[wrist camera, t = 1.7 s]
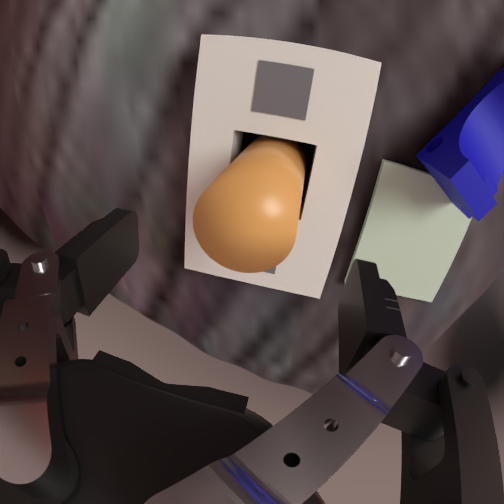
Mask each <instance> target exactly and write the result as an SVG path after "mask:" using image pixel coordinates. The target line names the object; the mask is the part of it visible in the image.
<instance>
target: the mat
mask: <svg viewBox="0 0 504 504" xmlns="http://www.w3.org/2000/svg"><path fill="white" fill-rule="evenodd" d="M471 218H472V217H471ZM471 218H470V219H469V218H467V217H466V216H465V215H464V214H463V213H462V212H461V211H460V210H459V209H458V208H457V207H456V206H455V205H454V204H453V203H452V202H451V201H450V199H449V198H448V196H447V195H446V194H445V192H444V191H443V190H442V188H441V187H440V186H439V184H438V183H437V182H436V180H435V179H434V178H433V177H432V175H431V174H430V173H427V172H424V171H421V170H418V169H415V168H412V167H409V166H405V165H402V164H399V163H395V162H392V161H389V160H385V159H382V163H381V166H380V170H379V174H378V177H377V181H376V184H375V188H374V191H373V195H372V198H371V201H370V205H369V208H368V211H367V214H366V218H365V221H364V224H363V227H362V230H361V233H360V236H359V239H358V242H357V245H356V248H355V251H354V254H353V257H352V260H351V263H350V266H349V268H348V271H347V274H346V277H345V280H344V281H345V283H346V280H347V277H348V275H349V272H350V269H351V266H352V263H353V261H354V260H355V259H361V260H365V261H369V262H374V263H376V264H377V268H378V272H379V276H380V278H381V279H385V280H387V281H388V282H389V283H390V285H391V286H392V287H393V288H394V290H395V293H396V295H398V296H403V297H408V298H413V299H418V300H423V301H428V302H432V301H433V299H434V297H435V295H436V293H437V291H438V290H439V288H440V286H441V284H442V282H443V280H444V278H445V276H446V274H447V272H448V270H449V268H450V266H451V264H452V262H453V259H454V257H455V255H456V253H457V251H458V249H459V246H460V244H461V242H462V240H463V237H464V235H465V233H466V230H467V228H468V226H469V223H470V221H471Z"/></svg>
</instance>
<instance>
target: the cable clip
mask: <svg viewBox="0 0 504 504" xmlns="http://www.w3.org/2000/svg"><path fill="white" fill-rule="evenodd" d="M416 157H417V158H418V159H419V160H420V162H421V163H422V164H423V165H424V167H425V168H426V169H427V170H428V172H429V173H430V174H431V175H432V177H433V178H434V179H435V180H436V182H437V183H438V184H439V186H440V187H441V188H442V190H443V191H444V192H445V194H446V195H447V196H448V198H449V199H450V201H451V202H452V203H453V204H454V205H455V206H456V207H457V208H458V209H459V210H460V211H461V212H462V213H463V214H464V215H465V216H466V217H467V218H469V219H470V218H471V217H472V216H473V217H474V218H475V219H476V220H478V221H479V220H480V219H481V218H482V217H484V216H485V215H486V214H487V213H488V212H489V211H490V210H491V209H492V208H493V207H494V206H495V205H496V204H497V203H496V201H495V200H494V198H493V196H494V195H495V194H496V192H497V186H498V183H499V180H500V177H501V175H502V173H503V171H504V66H503V67H502V68H501V69H500V70H499V71H498V72H497V73H496V74H495V75H494V76H493V77H492V79H491V80H490V81H489V82H488V83H487V84H486V85H485V86H484V87H483V88H482V89H481V90H480V91H479V92H478V93H477V94H476V95H475V96H474V97H473V98H472V99H471V101H470V102H469V103H468V104H467V105H466V106H465V107H464V108H463V109H462V110H461V111H460V112H459V113H458V114H457V115H456V116H455V117H454V118H453V119H452V120H451V121H450V122H449V123H448V124H447V125H446V126H445V127H444V128H443V129H442V130H441V131H440V132H439V133H438V134H437V135H436V136H435V137H434V138H433V139H432V140H431V141H430V142H429V143H428V144H427V145H426V146H425V147H424V148H423V149H422V150H421V151H420V152H419V153H418V154H417V155H416Z"/></svg>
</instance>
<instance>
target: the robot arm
mask: <svg viewBox="0 0 504 504" xmlns="http://www.w3.org/2000/svg"><path fill="white" fill-rule="evenodd" d="M138 252H139V240H138V220H137V214H136V212H134V211H130V210H125V209H120V208H116V209H114V210H113V211H112V212H110V213H109V214H108V215H106V216H105V217H104V218H102V219H100V220H97V221H95V222H92V223H91V224H89V225H88V226H87V227H86V228H84V229H83V231H81V232H79V233H78V234H77V235H76V236H74V237H73V238H72V239H71V240H69V241H68V242H67V243H66V244H64V245H63V246H62V247H61V248H60V249H58V250H57V251H56V252H55V253H54V252H50V251H43V252H38V253H35V254H32V255H30V256H29V257H28V258H26V259H25V260H24V261H23V263H22V264H19V263H10V261H9V257H8V254H7V252H6V251H5V250H3V249H0V504H325V502H324V501H323V499H322V498H321V496H320V495H319V493H318V492H317V490H318V489H319V488H320V487H321V486H322V485H323V484H324V483H325V482H326V481H327V480H328V479H329V478H330V477H331V476H332V475H333V474H334V473H335V472H336V471H337V470H338V469H339V468H340V467H341V466H342V465H343V464H344V463H345V462H346V461H347V460H348V459H349V458H350V457H351V456H352V455H353V454H354V452H355V451H356V450H357V449H358V448H359V447H360V446H361V445H362V444H363V443H364V442H365V440H366V439H367V438H368V437H369V436H370V435H371V433H372V432H373V431H374V430H375V428H376V427H377V426H378V425H379V424H380V423H383V424H386V425H388V426H391V427H393V428H396V429H399V430H401V431H402V473H401V498H400V504H504V491H503V481H502V472H501V463H500V456H499V450H498V445H497V438H496V433H495V428H494V423H493V418H492V413H491V409H490V405H489V400H488V396H487V392H486V388H485V385H484V381H483V379H482V377H481V375H480V374H479V372H478V371H477V370H476V369H475V368H473V367H472V366H470V365H469V364H466V363H463V362H456V363H453V364H452V365H450V367H449V368H448V369H447V370H446V372H445V371H443V370H440V369H438V368H436V367H433V366H431V365H428V364H426V363H424V362H423V355H422V353H421V351H420V349H419V348H418V346H417V345H416V344H415V343H413V342H412V341H411V340H409V339H407V337H406V333H405V328H404V324H403V320H402V316H401V312H400V311H399V309H400V308H399V304H398V302H397V297H396V293H395V290H394V288H393V287H392V286H391V285H390V283H389V282H388V281H387V280H385V279H381V278H380V276H379V272H378V268H377V264H376V263H374V262H369V261H365V260H361V259H355V260H354V261H353V263H352V266H351V269H350V272H349V275H348V277H347V280H346V283H345V286H344V289H343V291H342V294H341V297H340V301H339V308H338V320H339V374H337V375H336V376H335V377H333V378H332V379H331V380H330V381H329V382H328V383H326V384H325V385H324V386H323V387H322V388H321V389H319V390H318V391H317V392H316V393H315V394H313V395H312V396H311V397H310V398H309V399H307V400H306V401H305V402H304V403H302V404H301V405H300V406H299V407H297V408H296V409H295V410H294V411H292V412H291V413H290V414H288V415H287V416H286V417H285V418H283V419H282V420H281V421H279V422H278V423H277V424H275V425H274V426H272V424H271V423H269V422H268V421H267V420H265V419H264V418H263V417H261V416H260V415H258V414H256V413H255V412H253V411H251V410H249V409H247V408H246V406H247V402H248V397H246V396H242V395H238V394H234V393H230V392H226V391H222V390H218V389H214V388H211V387H201V386H188V385H175V384H166V383H163V382H161V381H160V380H158V379H156V378H155V377H153V376H151V375H150V374H148V373H147V372H145V371H143V370H142V369H141V368H139V367H137V366H136V365H134V364H133V363H131V362H129V361H126V360H123V359H120V358H118V357H115V356H113V355H110V354H108V353H105V352H103V351H99V352H98V353H97V354H96V356H95V357H94V359H93V360H90V359H78V349H77V337H76V323H75V318H74V315H75V314H76V312H79V313H82V314H84V315H87V316H90V315H91V314H92V312H93V311H94V310H95V309H96V307H97V306H98V305H99V304H100V303H101V301H102V300H103V299H104V298H105V297H106V295H107V294H108V293H109V292H110V291H111V290H112V288H113V287H114V286H115V285H116V284H117V283H118V281H119V280H120V279H121V278H122V277H123V276H124V274H125V273H126V272H127V271H128V270H129V269H130V268H131V266H132V265H133V264H134V263H135V261H136V259H137V257H138Z"/></svg>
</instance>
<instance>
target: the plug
mask: <svg viewBox="0 0 504 504" xmlns="http://www.w3.org/2000/svg"><path fill="white" fill-rule="evenodd" d="M305 171H306V157H305V154H304V151H303V149H302V148H301V146H300V145H299V144H298V143H297V142H296V141H294V140H289V139H284V138H278V137H273V136H267V135H261V136H259V137H258V138H256V139H255V140H254V141H253V142H252V143H251V144H250V145H249V146H248V147H247V148H246V149H245V150H244V151H243V152H242V153H241V154H240V155H239V156H238V157H237V158H236V159H235V160H234V161H233V162H232V163H231V164H230V165H229V166H228V167H227V168H226V169H225V170H224V171H223V172H222V173H221V174H220V175H219V176H218V177H217V178H216V179H215V180H214V181H213V183H212V184H211V185H210V186H209V187H208V188H207V189H206V190H205V191H204V192H203V193H202V194H201V196H200V197H199V199H198V200H197V203H196V205H195V208H194V211H193V230H194V233H195V237H196V239H197V241H198V243H199V245H200V246H201V248H202V249H203V251H204V252H205V253H206V254H207V255H208V256H209V257H210V258H211V259H212V260H214V261H215V262H216V263H218V264H219V265H221V266H223V267H225V268H227V269H230V270H233V271H237V272H242V273H258V272H263V271H266V270H269V269H272V268H274V267H275V266H277V265H279V264H280V263H281V262H282V261H284V260H285V259H286V257H287V256H288V255H289V254H290V252H291V250H292V248H293V246H294V243H295V240H296V234H297V227H298V221H299V214H300V207H301V200H302V193H303V186H304V178H305Z"/></svg>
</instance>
